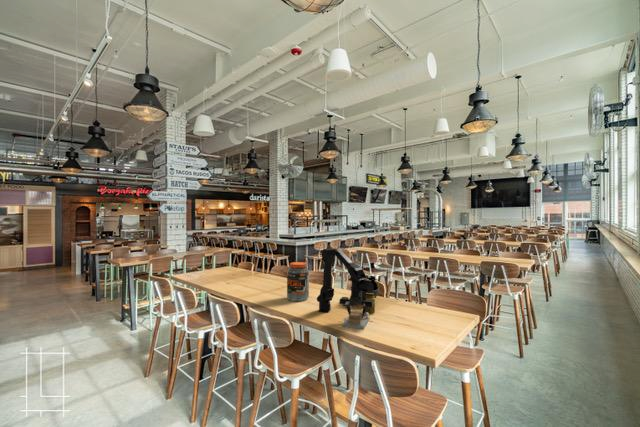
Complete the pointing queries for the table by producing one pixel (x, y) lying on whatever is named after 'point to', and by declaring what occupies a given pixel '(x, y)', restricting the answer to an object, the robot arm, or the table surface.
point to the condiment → (372, 309)
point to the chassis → (361, 326)
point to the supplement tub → (298, 281)
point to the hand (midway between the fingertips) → (356, 317)
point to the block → (355, 317)
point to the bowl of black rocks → (375, 291)
